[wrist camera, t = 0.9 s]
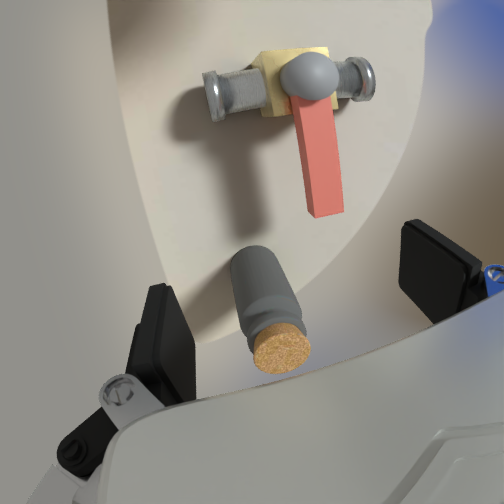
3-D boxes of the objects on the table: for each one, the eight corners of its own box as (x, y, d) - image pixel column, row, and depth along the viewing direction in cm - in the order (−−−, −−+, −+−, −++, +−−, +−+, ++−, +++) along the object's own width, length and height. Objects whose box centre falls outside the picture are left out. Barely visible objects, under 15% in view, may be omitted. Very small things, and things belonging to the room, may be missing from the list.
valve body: (201, 72, 26) (200, 62, 20) (347, 56, 26) (374, 48, 21) (213, 126, 28) (214, 128, 23) (356, 105, 29) (384, 106, 24)
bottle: (221, 277, 36) (234, 370, 23) (243, 237, 34) (270, 319, 21) (263, 293, 38) (293, 383, 25) (286, 255, 36) (331, 337, 23)
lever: (275, 60, 21) (284, 53, 18) (320, 56, 21) (333, 50, 18) (301, 212, 27) (312, 224, 24) (340, 204, 27) (354, 214, 25)
